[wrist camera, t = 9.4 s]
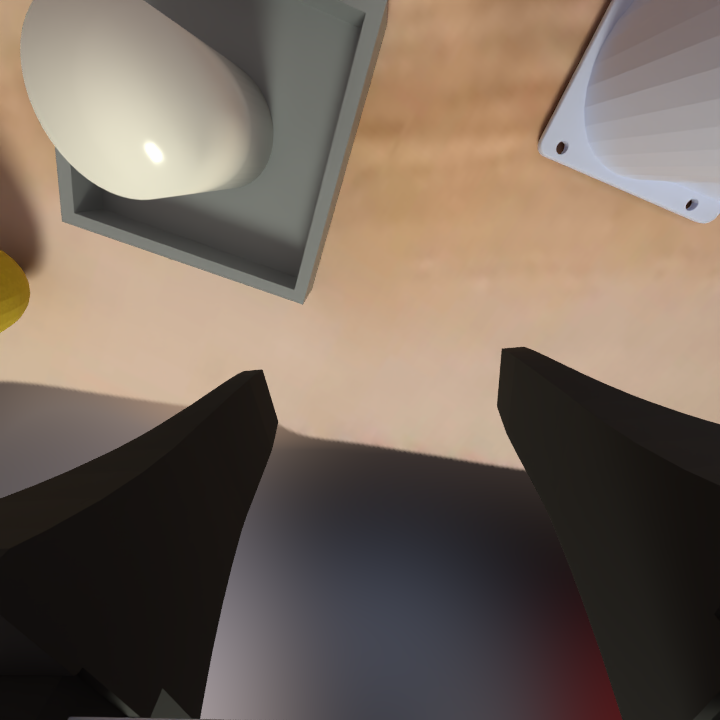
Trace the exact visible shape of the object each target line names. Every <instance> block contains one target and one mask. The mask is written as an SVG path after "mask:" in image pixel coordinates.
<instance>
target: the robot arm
mask: <svg viewBox="0 0 720 720" xmlns="http://www.w3.org/2000/svg"><path fill="white" fill-rule="evenodd" d="M559 142H563V143H564V146H565V147H564V150H563V152H562V153H561V154H558V153H557V152H556V147H557V145H558V144H559ZM538 151H539V153H540V154H541V155H542V156H544V157H546V158H549V159H551V160H553V161H555V162H558V163H560V164H562V165H565V166H567V167H569V168H572V169H574V170H576V171H579V172H581V173H583V174H586V175H588V176H590V177H592V178H595V179H597V180H599V181H602V182H604V183H606V184H609V185H611V186H613V187H616V188H618V189H620V190H623V191H625V192H627V193H629V194H632V195H634V196H636V197H639V198H641V199H643V200H646V201H648V202H650V203H653V204H655V205H657V206H660V207H662V208H664V209H667V210H669V211H671V212H673V213H676V214H678V215H680V216H683V217H685V218H687V219H690V220H692V221H694V222H698V223H708V222H710V221H712V220H714V219H715V218H716V217H717V216H718V215H719V214H720V0H612V1H611V3H610V5H609V6H608V8H607V10H606V12H605V14H604V16H603V18H602V20H601V22H600V24H599V26H598V28H597V30H596V32H595V33H594V35H593V37H592V39H591V41H590V43H589V45H588V47H587V49H586V51H585V53H584V55H583V57H582V59H581V61H580V62H579V64H578V66H577V68H576V70H575V72H574V74H573V76H572V78H571V80H570V82H569V84H568V86H567V88H566V89H565V91H564V93H563V95H562V97H561V99H560V101H559V103H558V105H557V107H556V109H555V111H554V113H553V115H552V117H551V118H550V120H549V122H548V124H547V126H546V128H545V130H544V132H543V134H542V136H541V138H540V140H539V143H538ZM690 200H692V204H691V206H690V207H689V208H687V209H686V204H687V203H688V202H689V201H690ZM497 407H498V410H499V413H500V416H501V419H502V422H503V425H504V428H505V430H506V433H507V435H508V437H509V439H510V441H511V443H512V445H513V447H514V449H515V451H516V453H517V455H518V457H519V459H520V460H521V462H522V464H523V466H524V468H525V470H526V472H527V474H528V475H529V477H530V479H531V481H532V483H533V485H534V487H535V489H536V491H537V492H538V494H539V496H540V498H541V500H542V502H543V504H544V506H545V508H546V510H547V512H548V514H549V517H550V519H551V521H552V524H553V526H554V528H555V531H556V533H557V536H558V538H559V541H560V543H561V546H562V548H563V551H564V553H565V556H566V558H567V561H568V564H569V566H570V569H571V572H572V574H573V577H574V580H575V582H576V585H577V587H578V590H579V593H580V595H581V598H582V601H583V604H584V607H585V609H586V612H587V615H588V618H589V621H590V624H591V626H592V629H593V632H594V635H595V637H596V640H597V643H598V646H599V649H600V652H601V655H602V658H603V661H604V664H605V667H606V670H607V673H608V676H609V679H610V682H611V685H612V688H613V691H614V695H615V697H616V701H617V704H618V707H619V710H620V713H621V715H622V719H623V720H720V424H717V423H713V422H710V421H706V420H703V419H700V418H697V417H693V416H690V415H687V414H684V413H681V412H678V411H675V410H672V409H669V408H666V407H663V406H661V405H658V404H655V403H652V402H649V401H646V400H644V399H641V398H638V397H636V396H633V395H631V394H628V393H626V392H623V391H621V390H619V389H616V388H614V387H611V386H609V385H607V384H604V383H602V382H600V381H597V380H595V379H593V378H591V377H589V376H586V375H584V374H582V373H580V372H578V371H576V370H574V369H572V368H569V367H567V366H565V365H563V364H561V363H559V362H557V361H555V360H553V359H551V358H549V357H547V356H545V355H542V354H540V353H538V352H536V351H534V350H531V349H529V348H526V347H516V348H505V349H502V354H501V365H500V377H499V389H498V401H497ZM277 425H278V419H277V416H276V413H275V409H274V406H273V403H272V400H271V396H270V393H269V390H268V386H267V383H266V380H265V376H264V373H263V370H252V371H243V372H241V373H239V374H237V375H236V376H234V377H232V378H231V379H229V380H228V381H226V382H224V383H223V384H221V385H220V386H218V387H217V388H215V389H214V390H212V391H211V392H210V393H208V394H207V395H205V396H204V397H202V398H201V399H199V400H198V401H196V402H195V403H193V404H192V405H190V406H189V407H187V408H186V409H184V410H182V411H181V412H179V413H178V414H176V415H175V416H173V417H171V418H170V419H168V420H166V421H165V422H163V423H162V424H160V425H159V426H157V427H155V428H153V429H152V430H150V431H148V432H147V433H145V434H143V435H141V436H140V437H138V438H136V439H134V440H132V441H130V442H129V443H126V444H124V445H123V446H121V447H119V448H117V449H115V450H113V451H111V452H109V453H107V454H105V455H102V456H100V457H98V458H96V459H94V460H92V461H89V462H88V463H85V464H83V465H81V466H79V467H76V468H74V469H72V470H70V471H68V472H65V473H63V474H61V475H59V476H56V477H54V478H51V479H49V480H46V481H44V482H42V483H39V484H37V485H34V486H32V487H29V488H27V489H24V490H22V491H19V492H16V493H14V494H11V495H8V496H6V497H3V498H0V720H217V719H200V716H201V709H202V704H203V698H204V693H205V687H206V683H207V676H208V672H209V667H210V661H211V656H212V651H213V646H214V641H215V637H216V632H217V627H218V622H219V618H220V614H221V609H222V604H223V600H224V596H225V592H226V587H227V584H228V580H229V576H230V572H231V567H232V563H233V560H234V556H235V553H236V549H237V545H238V541H239V538H240V534H241V531H242V528H243V525H244V522H245V519H246V516H247V513H248V511H249V508H250V505H251V503H252V500H253V498H254V495H255V493H256V490H257V488H258V485H259V482H260V479H261V477H262V475H263V472H264V469H265V467H266V464H267V461H268V459H269V456H270V453H271V451H272V447H273V443H274V439H275V434H276V429H277ZM218 720H221V719H218Z"/></svg>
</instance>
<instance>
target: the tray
mask: <svg viewBox="0 0 720 720" xmlns="http://www.w3.org/2000/svg"><path fill="white" fill-rule="evenodd" d="M144 1H145V2H147V3H148V4H150V5H151V6H152V7H154V8H155V9H157V10H158V11H160V12H161V13H162V14H164V15H165V16H167V17H168V18H170V19H171V20H172V21H174V22H175V23H177V24H178V25H180V26H181V27H182V28H184V29H185V30H187V31H188V32H190V33H191V34H192V35H194V36H195V37H197V38H198V39H200V40H201V41H202V42H204V43H205V44H207V45H208V46H210V47H211V48H212V49H214V50H215V51H217V52H218V53H220V54H221V55H222V56H224V57H225V58H227V59H228V60H230V61H231V62H232V63H234V64H235V65H237V66H238V67H240V68H241V69H242V70H243V71H244V72H246V73H247V74H248V75H249V76H250V77H251V78H252V80H253V81H254V82H255V83H256V85H257V86H258V88H259V89H260V91H261V93H262V94H263V96H264V98H265V100H266V102H267V105H268V108H269V111H270V115H271V119H272V125H273V147H272V151H271V155H270V158H269V161H268V163H267V165H266V167H265V169H264V170H263V172H262V173H261V174H260V175H259V176H258V177H257V178H256V179H255V180H254V181H252V182H251V183H249V184H247V185H245V186H242V187H238V188H232V189H224V190H217V191H210V192H202V193H195V194H187V195H180V196H173V197H165V198H158V199H150V200H138V199H130V198H126V197H122V196H119V195H116V194H113V193H111V192H109V191H107V190H105V189H103V188H101V187H99V186H97V185H96V184H94V183H93V182H91V181H90V180H88V179H87V178H86V177H84V176H83V175H82V174H81V173H79V172H78V171H77V170H76V169H75V168H74V167H73V166H72V165H71V164H70V163H69V162H68V161H67V160H66V159H65V158H64V157H63V155H62V154H61V153H60V152H59V151H58V149H57V148H56V147H55V152H56V162H57V173H58V183H59V194H60V204H61V215H62V222H65V223H68V224H71V225H74V226H77V227H80V228H83V229H85V230H88V231H91V232H94V233H97V234H100V235H103V236H106V237H109V238H112V239H114V240H117V241H120V242H123V243H126V244H129V245H132V246H135V247H138V248H141V249H143V250H146V251H149V252H152V253H155V254H158V255H161V256H164V257H167V258H169V259H172V260H175V261H178V262H181V263H184V264H187V265H190V266H193V267H196V268H198V269H201V270H204V271H207V272H210V273H213V274H216V275H219V276H222V277H225V278H227V279H230V280H233V281H236V282H239V283H242V284H245V285H248V286H251V287H254V288H256V289H259V290H262V291H265V292H268V293H271V294H274V295H277V296H280V297H283V298H285V299H288V300H291V301H294V302H297V303H300V304H304V302H305V300H306V298H307V297H308V295H309V293H310V292H311V290H312V287H313V283H314V280H315V276H316V273H317V269H318V266H319V262H320V259H321V255H322V252H323V248H324V245H325V241H326V237H327V234H328V230H329V227H330V223H331V220H332V216H333V213H334V209H335V206H336V202H337V199H338V195H339V192H340V188H341V185H342V181H343V178H344V174H345V171H346V167H347V164H348V160H349V156H350V153H351V149H352V146H353V142H354V139H355V135H356V132H357V128H358V125H359V121H360V118H361V114H362V111H363V107H364V104H365V100H366V97H367V93H368V90H369V86H370V83H371V79H372V76H373V72H374V68H375V65H376V61H377V58H378V54H379V51H380V47H381V44H382V40H383V37H384V33H385V30H386V26H387V8H388V0H144Z"/></svg>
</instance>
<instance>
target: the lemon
mask: <svg viewBox="0 0 720 720" xmlns="http://www.w3.org/2000/svg"><path fill="white" fill-rule="evenodd" d="M29 297H30V288H29V283H28V280H27V278H26V275H25V273H24V272H23V270H22V269H21V267H20V266H19V265H18V264H17V263H16V262H15V261H14V260H13V259H12V258H11V257H10V256H9V255H7V254H6V253H5V252H3V251H2V250H0V333H1V332H2V331H4V330H5V329H7V328H8V327H10V326H11V325H12V324H14V323H15V322H16V321H17V320H18V319H19V318H20V317H21V316H22V315H23V313H24V311H25V309H26V308H27V306H28V303H29Z"/></svg>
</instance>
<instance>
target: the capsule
mask: <svg viewBox="0 0 720 720" xmlns="http://www.w3.org/2000/svg"><path fill="white" fill-rule="evenodd" d="M20 56H21V65H22V72H23V77H24V82H25V86H26V89H27V93H28V96H29V99H30V102H31V104H32V106H33V109H34V111H35V114H36V116H37V118H38V120H39V121H40V123H41V125H42V127H43V129H44V130H45V132H46V134H47V135H48V137H49V138H50V140H51V141H52V143H53V144H54V145H55V147H56V148H57V149H58V151H59V152H60V153H61V154H62V155H63V157H64V158H65V159H66V160H67V161H68V162H69V163H70V164H71V165H72V166H73V167H74V168H75V169H76V170H77V171H78V172H79V173H81V174H82V175H83V176H84V177H86V178H87V179H88V180H90V181H91V182H93V183H94V184H96V185H97V186H99V187H101V188H103V189H105V190H107V191H109V192H111V193H113V194H116V195H119V196H122V197H126V198H130V199H138V200H150V199H158V198H165V197H173V196H180V195H187V194H195V193H202V192H210V191H217V190H224V189H232V188H238V187H242V186H245V185H247V184H249V183H251V182H252V181H254V180H255V179H256V178H257V177H258V176H259V175H260V174H261V173H262V172H263V170H264V169H265V167H266V165H267V163H268V161H269V158H270V155H271V151H272V147H273V125H272V119H271V115H270V111H269V108H268V105H267V102H266V100H265V98H264V96H263V94H262V93H261V91H260V89H259V88H258V86H257V85H256V83H255V82H254V81H253V80H252V78H251V77H250V76H249V75H248V74H247V73H246V72H244V71H243V70H242V69H241V68H240V67H238V66H237V65H235V64H234V63H232V62H231V61H230V60H228V59H227V58H225V57H224V56H222V55H221V54H220V53H218V52H217V51H215V50H214V49H212V48H211V47H210V46H208V45H207V44H205V43H204V42H202V41H201V40H200V39H198V38H197V37H195V36H194V35H192V34H191V33H190V32H188V31H187V30H185V29H184V28H182V27H181V26H180V25H178V24H177V23H175V22H174V21H172V20H171V19H170V18H168V17H167V16H165V15H164V14H162V13H161V12H160V11H158V10H157V9H155V8H154V7H152V6H151V5H150V4H148V3H147V2H145V1H144V0H33V2H32V3H31V5H30V7H29V9H28V12H27V14H26V16H25V20H24V24H23V27H22V34H21V49H20Z"/></svg>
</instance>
